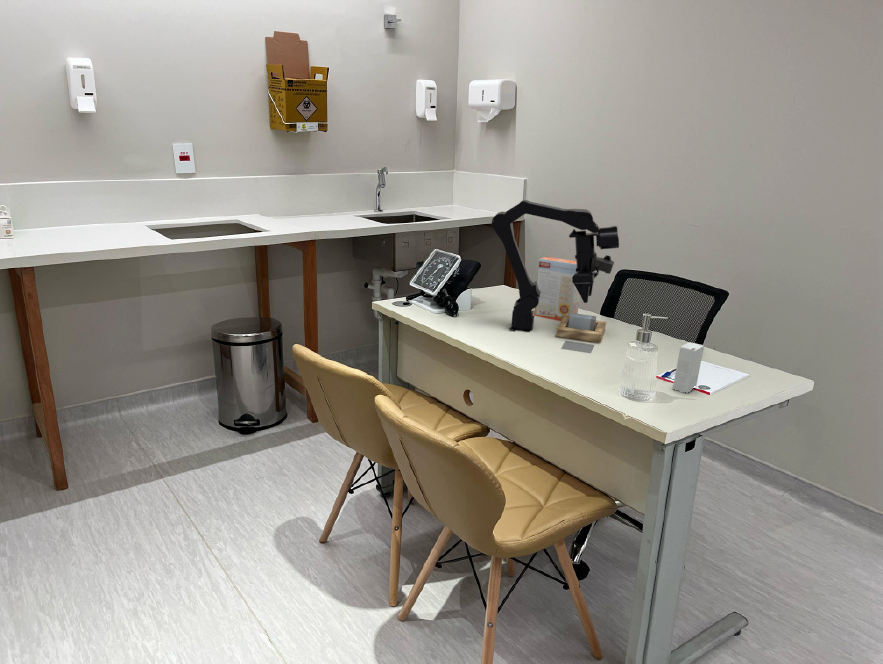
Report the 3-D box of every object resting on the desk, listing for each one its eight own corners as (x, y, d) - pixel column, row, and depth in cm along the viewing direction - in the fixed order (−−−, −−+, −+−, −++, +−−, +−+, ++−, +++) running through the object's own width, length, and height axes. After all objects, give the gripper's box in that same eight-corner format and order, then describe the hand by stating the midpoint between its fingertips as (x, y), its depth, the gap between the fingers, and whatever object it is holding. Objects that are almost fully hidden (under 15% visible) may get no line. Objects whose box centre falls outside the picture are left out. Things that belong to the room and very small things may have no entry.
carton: (554, 338, 218) (556, 327, 217) (563, 325, 233) (564, 315, 232) (599, 345, 214) (601, 334, 213) (605, 331, 229) (606, 320, 228)
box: (567, 334, 223) (569, 316, 221) (569, 330, 227) (571, 312, 225) (592, 337, 220) (594, 319, 219) (594, 334, 225) (596, 316, 223)
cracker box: (577, 320, 241) (584, 261, 234) (570, 324, 236) (577, 264, 229) (540, 313, 248) (546, 255, 241) (533, 316, 243) (539, 257, 237)
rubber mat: (560, 349, 208) (560, 348, 208) (565, 341, 216) (565, 340, 216) (590, 354, 205) (591, 353, 205) (594, 346, 214) (594, 344, 213)
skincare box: (680, 384, 185) (687, 341, 182) (697, 388, 183) (704, 345, 179) (671, 389, 181) (678, 345, 177) (688, 394, 178) (696, 350, 175)
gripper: (608, 254, 205) (610, 305, 209) (614, 244, 221) (616, 291, 225) (570, 256, 208) (573, 306, 212) (579, 246, 225) (581, 292, 229)
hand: (587, 299), depth 220 cm, fingers open, 9 cm apart
